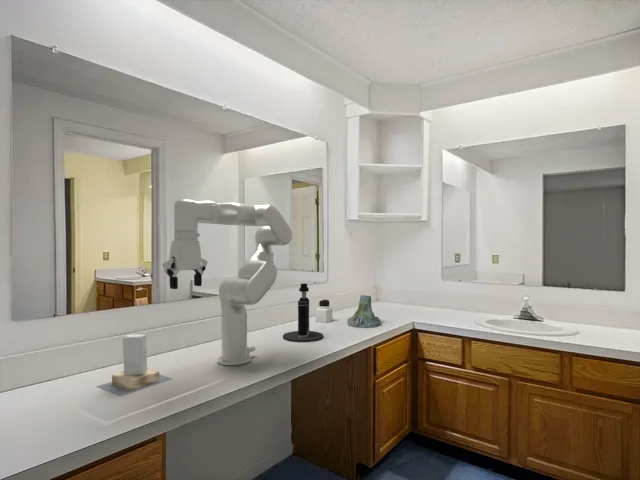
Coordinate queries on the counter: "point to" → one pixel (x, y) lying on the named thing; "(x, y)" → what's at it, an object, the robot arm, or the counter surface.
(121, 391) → the slate board
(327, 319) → the medicine bottle
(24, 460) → the counter surface
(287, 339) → the vape
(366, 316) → the tree stump
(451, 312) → the counter surface
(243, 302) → the robot arm
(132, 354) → the skincare box
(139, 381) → the birch plinth
